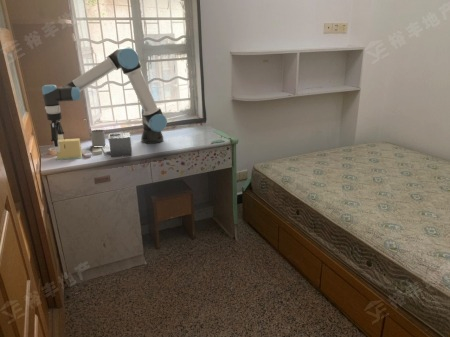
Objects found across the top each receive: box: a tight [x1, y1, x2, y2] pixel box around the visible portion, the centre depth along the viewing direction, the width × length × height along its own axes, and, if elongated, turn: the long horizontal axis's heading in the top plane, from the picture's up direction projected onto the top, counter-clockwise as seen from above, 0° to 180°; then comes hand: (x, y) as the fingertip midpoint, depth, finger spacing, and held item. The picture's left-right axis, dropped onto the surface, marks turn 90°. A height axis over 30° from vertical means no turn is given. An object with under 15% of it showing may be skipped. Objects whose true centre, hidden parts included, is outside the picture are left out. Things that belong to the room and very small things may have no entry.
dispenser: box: [107, 132, 133, 158], centre depth 218 cm, size 13×12×12 cm
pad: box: [55, 155, 83, 161], centre depth 213 cm, size 14×9×1 cm, turn 104°
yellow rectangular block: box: [55, 137, 83, 158], centre depth 211 cm, size 13×5×10 cm, turn 103°
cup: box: [90, 129, 106, 147], centre depth 233 cm, size 8×8×10 cm
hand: (59, 148), depth 210 cm, fingers open, 13 cm apart
